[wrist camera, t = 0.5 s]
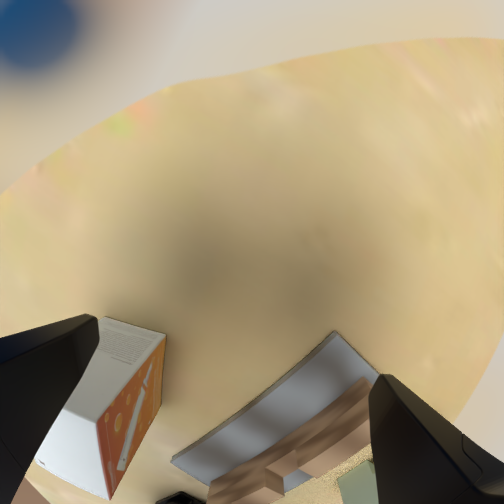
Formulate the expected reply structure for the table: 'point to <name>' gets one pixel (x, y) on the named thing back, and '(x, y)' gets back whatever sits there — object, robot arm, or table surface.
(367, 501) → the green plate
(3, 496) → the robot arm
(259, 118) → the table surface
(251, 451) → the slotted base
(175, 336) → the table surface
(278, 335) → the table surface
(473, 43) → the table surface
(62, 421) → the small box
